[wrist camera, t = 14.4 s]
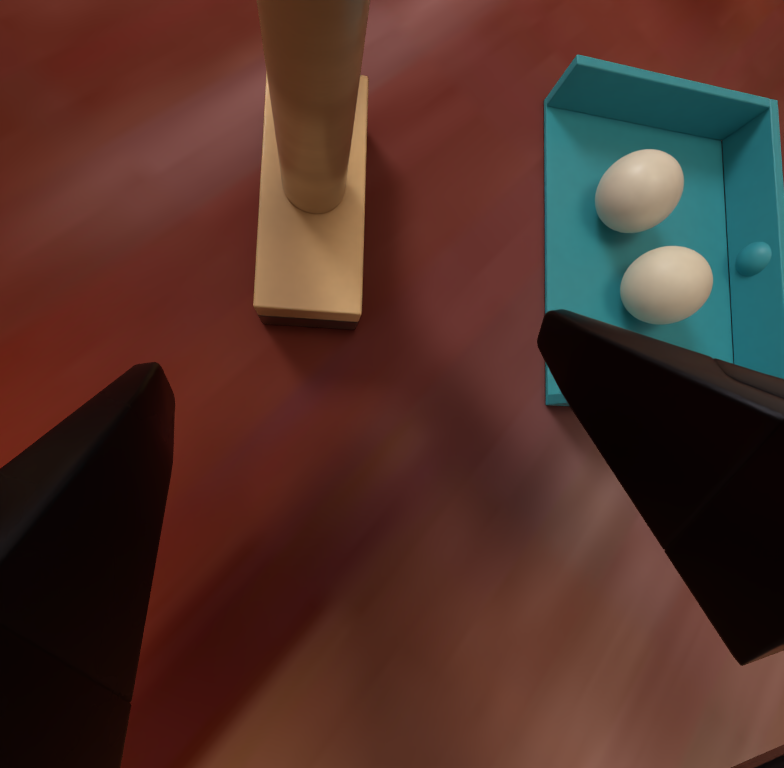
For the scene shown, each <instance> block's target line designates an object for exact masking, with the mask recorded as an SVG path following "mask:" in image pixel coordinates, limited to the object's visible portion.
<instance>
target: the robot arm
mask: <svg viewBox="0 0 784 768" xmlns="http://www.w3.org/2000/svg"><path fill="white" fill-rule="evenodd" d="M537 343H538V348H539V350H540V352H541V354H542V356H543V358H544V360H545V362H546V364H547V366H548V368H549V370H550V372H551V374H552V376H553V378H554V380H555V382H556V384H557V386H558V387H559V389H560V391H561V393H562V395H563V396H564V398H565V399H566V401H567V403H568V404H569V406H570V407H571V409H572V410H573V412H574V413H575V415H576V416H577V418H578V419H579V421H580V423H581V424H582V426H583V427H584V429H585V430H586V432H587V433H588V435H589V436H590V438H591V439H592V441H593V442H594V444H595V445H596V447H597V449H598V450H599V452H600V453H601V455H602V456H603V458H604V459H605V461H606V462H607V464H608V465H609V467H610V468H611V470H612V471H613V473H614V474H615V476H616V478H617V479H618V481H619V482H620V484H621V485H622V487H623V488H624V490H625V491H626V493H627V494H628V496H629V497H630V499H631V500H632V502H633V504H634V505H635V507H636V508H637V510H638V511H639V513H640V514H641V516H642V517H643V519H644V520H645V522H646V523H647V525H648V526H649V528H650V530H651V531H652V533H653V534H654V536H655V537H656V539H657V540H658V542H659V543H660V545H661V546H662V548H663V549H665V553H666V554H667V556H668V558H669V559H670V561H671V562H672V564H673V565H674V567H675V568H676V570H677V571H678V573H679V574H680V576H681V577H682V579H683V580H684V582H685V584H686V585H687V587H688V588H689V590H690V591H691V593H692V594H693V596H694V597H695V599H696V600H697V602H698V603H699V605H700V607H701V608H702V610H703V611H704V613H705V614H706V616H707V617H708V619H709V620H710V622H711V623H712V625H713V626H714V628H715V629H716V631H717V633H718V634H719V636H720V637H721V639H722V640H723V642H724V643H725V645H726V646H727V648H728V649H729V651H730V652H731V654H732V655H733V657H734V658H735V659H736V660H737V662H738V663H739V664H740V665H741V666H743V665H746V664H748V663H751V662H754V661H756V660H759V659H762V658H765V657H767V656H770V655H773V654H775V653H778V652H781V651H783V650H784V379H782V378H778V377H775V376H772V375H768V374H765V373H761V372H758V371H755V370H752V369H748V368H745V367H742V366H739V365H736V364H732V363H729V362H726V361H723V360H720V359H717V358H714V359H713V358H712V357H711V356H707V355H704V354H701V353H698V352H695V351H692V350H689V349H686V348H683V347H680V346H677V345H673V344H670V343H667V342H664V341H661V340H658V339H655V338H652V337H649V336H646V335H643V334H639V333H636V332H633V331H630V330H627V329H624V328H621V327H618V326H615V325H612V324H608V323H605V322H602V321H599V320H596V319H593V318H590V317H587V316H584V315H581V314H578V313H574V312H571V311H568V310H565V309H558V310H551V311H548V312H547V313H546V314H545V316H544V318H543V322H542V325H541V328H540V332H539V335H538V339H537ZM174 416H175V398H174V394H173V391H172V389H171V387H170V384H169V382H168V380H167V378H166V376H165V373H164V371H163V369H162V367H161V366H160V365H159V364H158V363H156V362H151V363H144V364H137V365H134V366H133V367H132V368H130V369H129V370H128V371H127V372H125V373H124V374H123V375H121V376H120V377H119V378H117V379H116V380H115V381H114V382H112V383H111V384H110V385H108V386H107V387H106V388H105V389H103V390H102V391H101V392H99V393H98V394H97V395H95V396H94V397H93V398H92V399H90V400H89V401H88V402H86V403H85V404H84V405H82V406H81V407H80V408H79V409H77V410H76V411H75V412H73V413H72V414H71V415H70V416H68V417H67V418H66V419H64V420H63V421H62V422H60V423H59V424H58V425H57V426H55V427H54V428H53V429H51V430H50V431H49V432H47V433H46V434H45V435H44V436H42V437H41V438H40V439H38V440H37V441H36V442H35V443H33V444H32V445H31V446H29V447H28V448H27V449H25V450H24V451H23V452H22V453H20V454H19V455H18V456H16V457H15V458H14V459H12V460H11V461H10V462H9V463H7V464H6V465H5V466H3V467H2V468H1V469H0V768H120V766H121V760H122V754H123V749H124V743H125V737H126V732H127V726H128V720H129V714H130V709H131V704H130V702H131V700H132V695H133V690H134V684H135V678H136V672H137V667H138V661H139V655H140V649H141V644H142V638H143V632H144V626H145V621H146V615H147V609H148V604H149V598H150V592H151V586H152V581H153V575H154V569H155V563H156V558H157V552H158V546H159V540H160V535H161V529H162V523H163V517H164V512H165V506H166V500H167V495H168V489H169V483H170V477H171V471H172V464H173V446H174ZM731 768H784V745H782V746H779V747H777V748H775V749H773V750H770V751H768V752H766V753H763V754H761V755H759V756H757V757H754V758H752V759H750V760H747V761H745V762H743V763H741V764H738V765H736V766H734V767H731Z"/></svg>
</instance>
